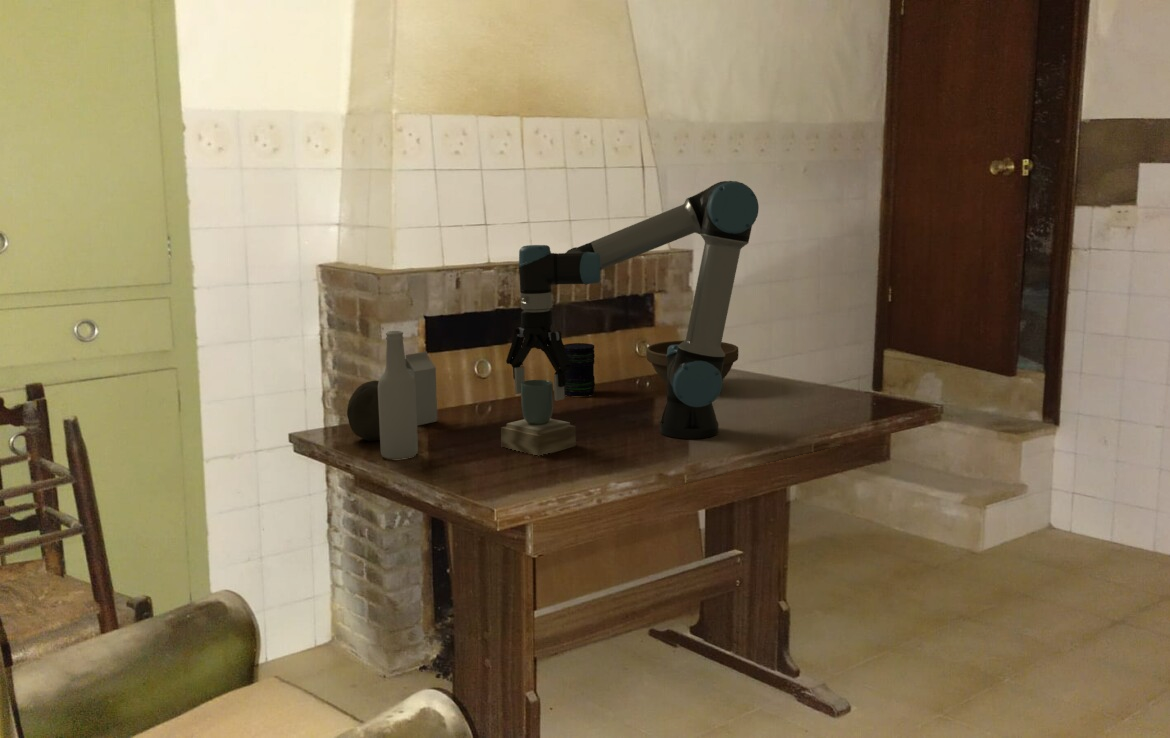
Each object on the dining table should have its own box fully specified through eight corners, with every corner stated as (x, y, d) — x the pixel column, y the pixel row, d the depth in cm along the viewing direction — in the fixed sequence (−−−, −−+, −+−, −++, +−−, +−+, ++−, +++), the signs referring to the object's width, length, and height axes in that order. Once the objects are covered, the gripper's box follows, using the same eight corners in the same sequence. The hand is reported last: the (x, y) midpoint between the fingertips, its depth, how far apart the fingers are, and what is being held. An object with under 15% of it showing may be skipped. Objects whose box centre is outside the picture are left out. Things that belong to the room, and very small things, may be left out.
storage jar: (594, 397, 315) (594, 348, 312) (562, 397, 315) (561, 348, 312) (595, 390, 325) (594, 343, 322) (563, 390, 325) (562, 343, 322)
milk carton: (437, 421, 286) (435, 352, 282) (416, 426, 281) (414, 356, 277) (421, 417, 291) (418, 350, 287) (400, 422, 286) (397, 353, 282)
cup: (549, 426, 254) (548, 386, 252) (518, 425, 255) (517, 385, 253) (556, 419, 261) (555, 380, 260) (526, 418, 263) (525, 379, 261)
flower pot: (670, 401, 309) (670, 357, 306) (631, 383, 335) (631, 343, 333) (755, 393, 319) (756, 350, 317) (710, 377, 345) (711, 337, 343)
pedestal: (575, 446, 260) (575, 422, 258) (538, 456, 250) (538, 432, 249) (538, 437, 268) (538, 414, 267) (501, 447, 259) (500, 423, 258)
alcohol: (411, 461, 247) (406, 335, 241) (375, 460, 248) (369, 334, 243) (422, 451, 255) (418, 329, 250) (388, 450, 257) (383, 328, 251)
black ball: (371, 449, 258) (368, 389, 255) (337, 440, 267) (334, 382, 264) (416, 438, 268) (414, 381, 265) (382, 430, 277) (380, 374, 274)
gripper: (489, 308, 259) (493, 392, 262) (563, 315, 242) (565, 405, 246) (512, 304, 264) (515, 387, 268) (585, 311, 247) (587, 399, 251)
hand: (539, 396), depth 257 cm, fingers open, 13 cm apart
